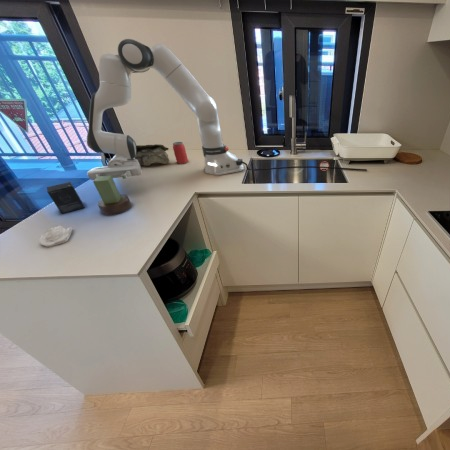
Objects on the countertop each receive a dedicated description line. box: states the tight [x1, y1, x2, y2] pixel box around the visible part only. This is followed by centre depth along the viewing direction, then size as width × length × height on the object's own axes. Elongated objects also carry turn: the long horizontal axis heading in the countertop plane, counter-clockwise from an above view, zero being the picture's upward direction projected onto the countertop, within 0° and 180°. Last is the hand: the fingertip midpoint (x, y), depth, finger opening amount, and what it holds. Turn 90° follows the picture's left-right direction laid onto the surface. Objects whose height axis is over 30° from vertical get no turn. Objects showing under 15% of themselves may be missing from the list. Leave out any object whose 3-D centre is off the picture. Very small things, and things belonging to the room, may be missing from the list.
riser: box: [97, 194, 133, 216], centre depth 103 cm, size 11×11×4 cm
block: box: [92, 176, 121, 204], centre depth 99 cm, size 5×5×10 cm
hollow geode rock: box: [135, 143, 170, 166], centre depth 145 cm, size 28×13×15 cm
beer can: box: [172, 141, 189, 165], centre depth 150 cm, size 7×7×12 cm
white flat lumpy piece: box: [38, 225, 74, 248], centre depth 85 cm, size 10×4×10 cm
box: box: [46, 181, 85, 214], centre depth 101 cm, size 8×6×11 cm
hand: (111, 178), depth 104 cm, fingers open, 8 cm apart
